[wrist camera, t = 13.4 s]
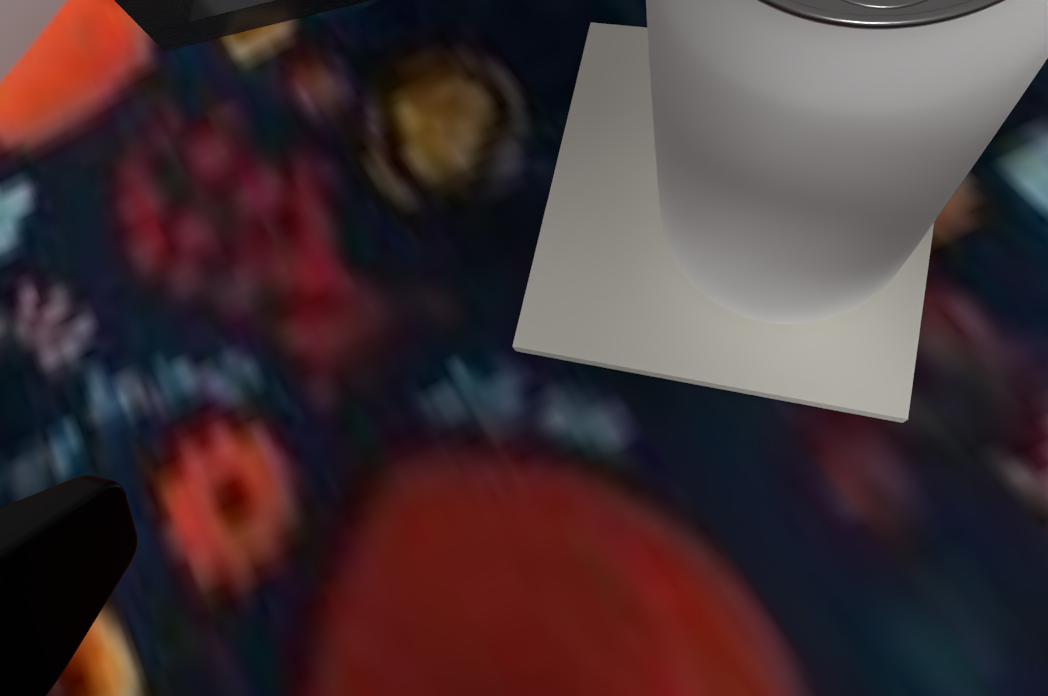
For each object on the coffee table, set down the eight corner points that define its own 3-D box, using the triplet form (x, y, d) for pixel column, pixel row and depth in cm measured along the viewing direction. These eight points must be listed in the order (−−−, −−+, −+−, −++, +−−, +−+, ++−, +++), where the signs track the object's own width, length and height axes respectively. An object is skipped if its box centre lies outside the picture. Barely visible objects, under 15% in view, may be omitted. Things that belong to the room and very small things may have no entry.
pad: (903, 422, 21) (907, 418, 21) (515, 350, 23) (512, 346, 23) (950, 66, 23) (956, 56, 23) (592, 32, 26) (590, 22, 25)
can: (664, 334, 22) (642, 78, 11) (656, 112, 24) (631, -312, 13) (929, 324, 21) (1215, 26, 10) (901, 92, 23) (1118, -396, 11)
